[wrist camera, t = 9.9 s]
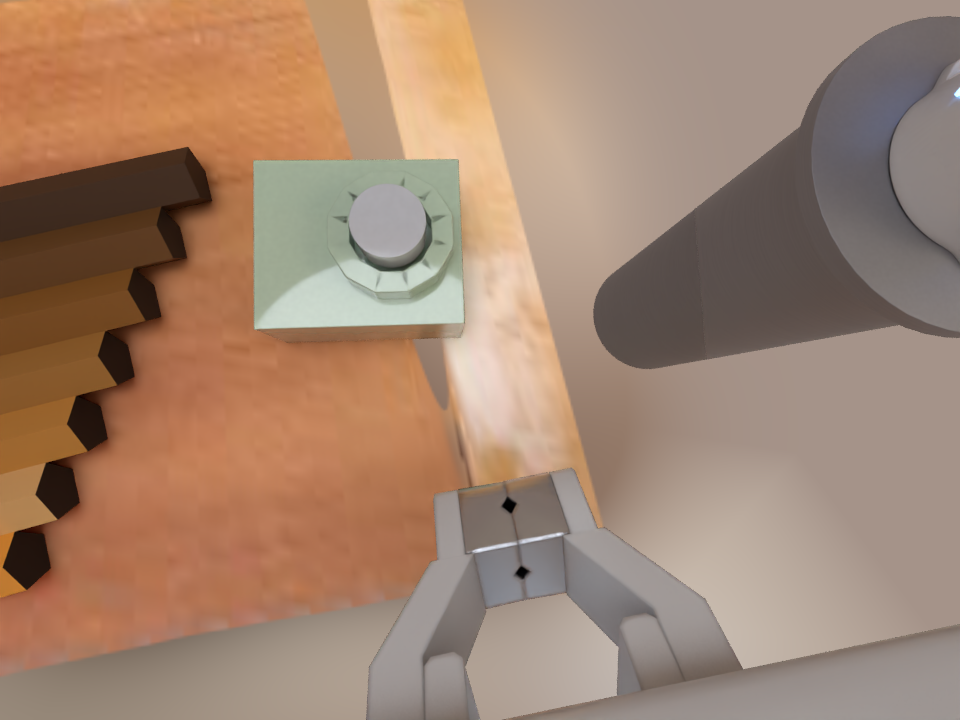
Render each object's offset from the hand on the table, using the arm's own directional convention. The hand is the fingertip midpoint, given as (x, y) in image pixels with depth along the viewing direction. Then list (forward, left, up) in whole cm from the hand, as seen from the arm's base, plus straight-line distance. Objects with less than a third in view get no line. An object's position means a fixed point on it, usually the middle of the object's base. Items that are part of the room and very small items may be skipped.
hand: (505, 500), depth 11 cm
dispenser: (+6, -12, -25) cm, 28 cm away
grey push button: (+4, -12, -17) cm, 21 cm away
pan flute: (+27, -5, -25) cm, 37 cm away
